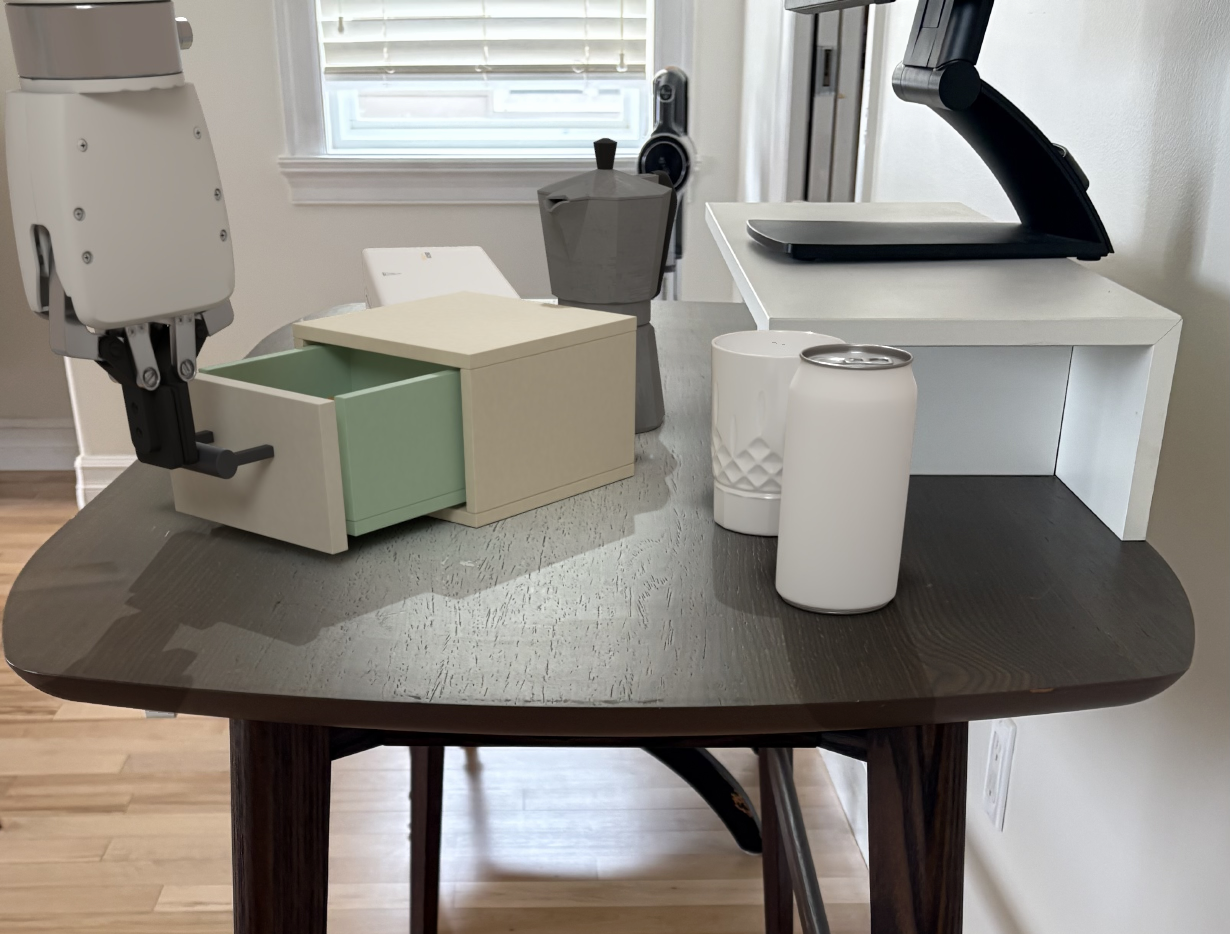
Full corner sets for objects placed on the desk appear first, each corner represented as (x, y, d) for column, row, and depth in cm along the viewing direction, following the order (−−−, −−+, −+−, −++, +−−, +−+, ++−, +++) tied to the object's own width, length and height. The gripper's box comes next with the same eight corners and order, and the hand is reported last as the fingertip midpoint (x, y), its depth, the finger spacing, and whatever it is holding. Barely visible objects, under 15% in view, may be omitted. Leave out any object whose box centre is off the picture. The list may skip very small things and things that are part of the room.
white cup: (756, 547, 92) (767, 361, 86) (678, 515, 97) (683, 337, 91) (860, 527, 95) (877, 347, 89) (779, 496, 101) (790, 324, 95)
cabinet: (476, 528, 95) (469, 354, 89) (308, 486, 102) (291, 322, 96) (634, 475, 105) (637, 316, 99) (471, 440, 112) (464, 290, 106)
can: (772, 576, 87) (787, 340, 80) (889, 578, 87) (914, 342, 80) (777, 615, 82) (794, 367, 75) (901, 618, 82) (930, 369, 75)
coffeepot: (606, 448, 110) (608, 149, 100) (499, 429, 114) (490, 140, 104) (719, 407, 121) (731, 133, 110) (617, 391, 125) (619, 125, 114)
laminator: (366, 321, 148) (361, 247, 144) (497, 318, 150) (494, 245, 146) (391, 403, 121) (385, 314, 117) (550, 398, 123) (549, 310, 119)
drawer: (274, 573, 84) (256, 418, 80) (116, 527, 91) (91, 381, 86) (505, 498, 96) (501, 360, 92) (351, 462, 103) (340, 332, 99)
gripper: (173, 41, 80) (229, 424, 91) (-93, 57, 70) (5, 482, 81) (273, 44, 76) (319, 444, 87) (7, 62, 67) (96, 507, 78)
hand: (168, 461), depth 84 cm, fingers closed
